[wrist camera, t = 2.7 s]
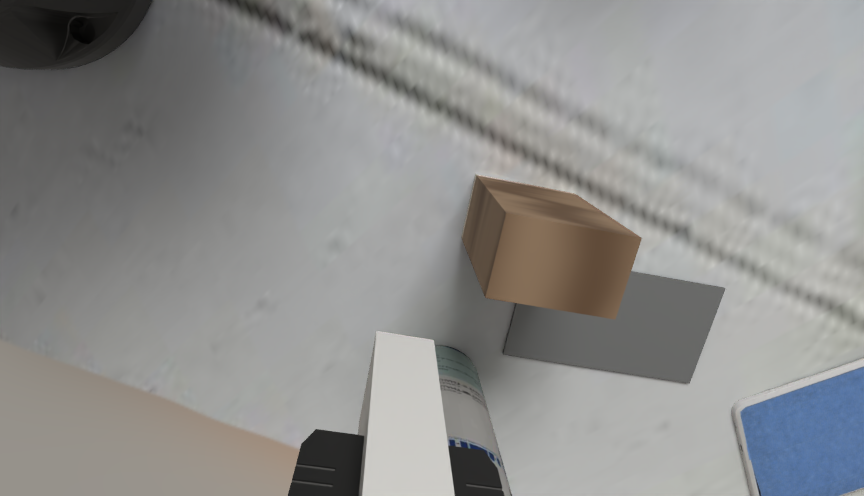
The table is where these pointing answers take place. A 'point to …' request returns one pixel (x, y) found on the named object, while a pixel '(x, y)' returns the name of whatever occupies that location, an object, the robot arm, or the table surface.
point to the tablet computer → (805, 435)
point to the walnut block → (547, 248)
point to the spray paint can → (466, 408)
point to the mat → (624, 330)
